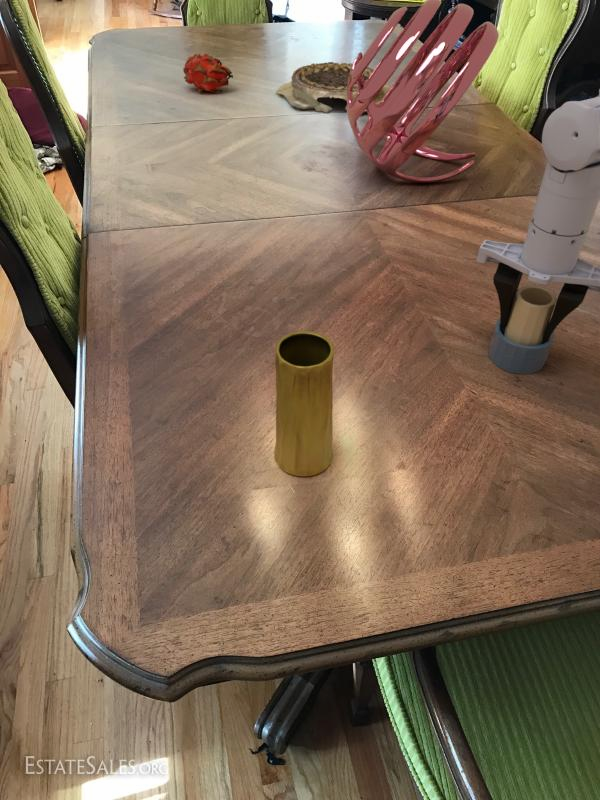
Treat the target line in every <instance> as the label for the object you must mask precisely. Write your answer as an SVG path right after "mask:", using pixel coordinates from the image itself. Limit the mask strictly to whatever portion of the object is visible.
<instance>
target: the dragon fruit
mask: <svg viewBox="0 0 600 800" xmlns="http://www.w3.org/2000/svg"><path fill="white" fill-rule="evenodd" d="M182 71H183V74H184V76H183V79H184V82H186V83H187V84H188V85H193V86H194V87H196V90H197V91H198V93H201V92H202V91H206V92H210V93H212V94H220V93H222V92H223V90H222V89H218V88H221V87H226V86H229V83H230V82H229V81H230V80H229V79H233V78H234V75H233V72H232V71H231V69H230V68H229V67H227V66H224V65H223V63H222V62H221V59H218V58H216V57H215V58H213V56H212V55H210V54H208V53H204V54H202V55H201V53H194V54H193V55H192V56H189V57H188V58H187V61H185V63H184V66H183V68H182Z"/></svg>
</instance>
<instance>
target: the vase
mask: <svg viewBox="0 0 600 800" xmlns="http://www.w3.org/2000/svg"><path fill="white" fill-rule="evenodd" d="M334 355H335V345H334V344H333V342H332V341H331V339H329V337H327V336H325V335H324V334H321V333H319V332H316V331H311V330H309V331H308V330H298V331H293V332H290V333H288V334H286V335H284V336H283V337H281V338H280V339H279V340H278V342H277V344H276V349H275V389H276V391H275V392H276V393H275V394H276V396H275V399H276V401H275V444H274V445H275V446H274V451H273V457H274V460H275V463H276V464H277V466H278V467H279V468H280V469H281V470H282V471H284V472H286V473H287V474H289V475H292V476H295V477H311V476H316V475H318V474H321V473H323V472H324V471H325V470H326V469H327V468H328V467H329V466H330V464H331V463H332V460H333V455H334V451H333V436H334V435H333V430H334V429H333V428H334V427H333V426H334V425H333V423H334V422H333V408H334V407H333V406H334V405H333V401H334V400H333V398H334V395H333V368H334Z"/></svg>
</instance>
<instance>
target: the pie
mask: <svg viewBox="0 0 600 800" xmlns="http://www.w3.org/2000/svg"><path fill="white" fill-rule="evenodd" d="M352 64H353V62H352V63H351V62H350V63H346V62H341V63H339V62H333V61H328V62H320V63H311V64H308V65H303V66H301V67H297V68H296V69H295V70H294V71H293V73H292V75H291V81H288V82H286V83H283V84H282V85H280V86H279V87H278V88H277V89H276V91H275V92H276V93H277V94H279V95H282V96H283V97H284V98H285V99H286V100H287V102H288V103H289V105H290V106H292V107H295V108H297V109H301V110H307V109H315V112H316V113H317V112H319V113H321V112H324V113H327V114H328V113H329V112H331V111H333V108H332V107H331V106H330V105H327V104H325V103H323V102H320V101H318V99H319V98H330V99H332V98H334V99H338V98H339V99H342V100H344V101H347V81H348V77H349V73H350V70H351V67H352ZM373 71H374V68H372V67H370V66H368V67H367V68H366V69H365V71H364V72H363V78H364V81H366V80H367V79H368V78H369V77H370V75H371V74H372V72H373ZM391 87H392V86H390V85H388V84H387V83H386V84H385V85H384V87H383V88H382V89H381V91H380V92H379V93H378V94H377V96H376V97H375V98H374V100H373V101H374V102H375V103H376V104H379V103H380V102H381V101H382V99H383V98H384V97H385V95H386V94H387V92H388V91H389V89H390V88H391ZM357 91H358V88H357V82H356V83H355V85H354V86H353V93H352V101H353V100H354V98H355V97H356V95H357ZM344 110H345V111H347V105H346V106H345V108H344ZM365 113H367V110H365V111H364V112H363V113H362V114H365Z"/></svg>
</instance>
